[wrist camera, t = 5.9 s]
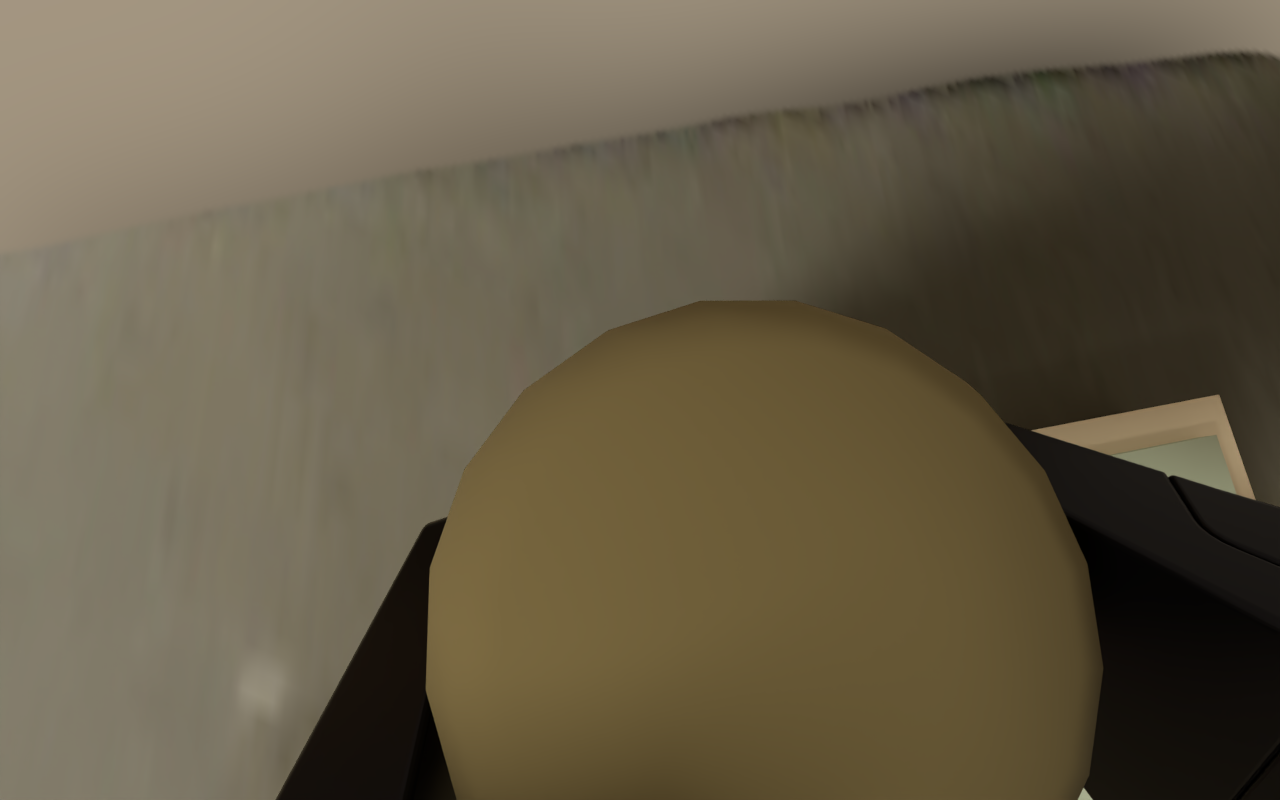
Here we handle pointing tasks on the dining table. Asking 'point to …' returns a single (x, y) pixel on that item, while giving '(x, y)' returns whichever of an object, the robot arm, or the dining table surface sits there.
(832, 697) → the olive pawn piece
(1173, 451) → the base block
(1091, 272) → the dining table surface
